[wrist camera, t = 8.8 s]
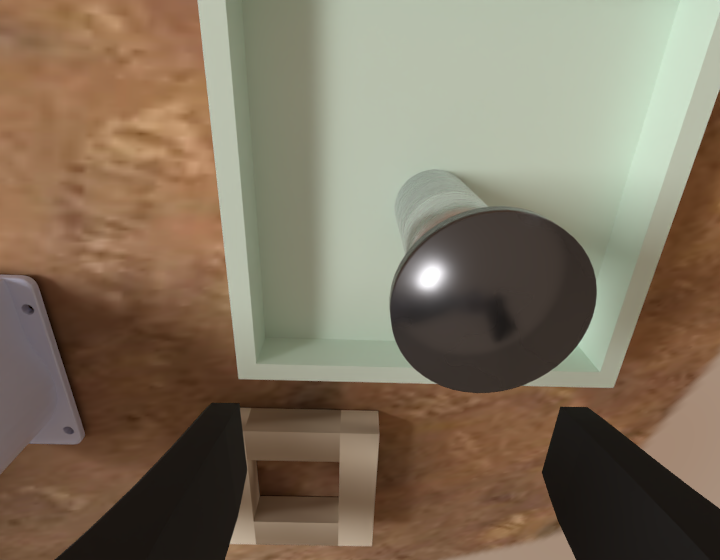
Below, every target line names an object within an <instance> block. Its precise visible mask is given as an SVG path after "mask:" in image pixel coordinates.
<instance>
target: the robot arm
mask: <svg viewBox="0 0 720 560" xmlns="http://www.w3.org/2000/svg"><path fill="white" fill-rule="evenodd" d="M28 305H30V306H31V307H32V308H33V309H34V310H32V309H31V308H29V306H28ZM84 437H85V432H84V429H83V426H82V423H81V419H80V416H79V413H78V410H77V407H76V404H75V400H74V397H73V394H72V391H71V388H70V385H69V382H68V378H67V375H66V372H65V369H64V366H63V363H62V359H61V356H60V353H59V350H58V347H57V344H56V341H55V337H54V334H53V331H52V328H51V325H50V322H49V318H48V315H47V312H46V309H45V306H44V303H43V300H42V296H41V293H40V290H39V287H38V285H37V283H36V281H35V280H33V279H32V278H31V277H29V276H25V275H0V474H1V473H2V472H3V471H4V470H5V469H6V468H7V467H8V466H9V465H10V463H11V462H12V461H13V460H14V459H15V458H16V457H17V456H18V455H19V454H20V452H21V451H22V450H23V449H24V448H25V447H26V446H27V445H28V444H78V443H80V442H81V441H82V440H83V438H84ZM542 474H543V478H544V481H545V484H546V487H547V490H548V493H549V496H550V499H551V502H552V505H553V508H554V511H555V513H556V516H557V519H558V521H559V524H560V526H561V528H562V530H563V532H564V534H565V537H566V539H567V541H568V543H569V545H570V547H571V549H572V552H573V554H574V556H575V558H576V560H720V509H719V508H718V507H717V506H715V505H714V504H713V503H711V502H710V501H709V500H707V499H706V498H704V497H703V496H702V495H700V494H699V493H698V492H696V491H695V490H694V489H692V488H691V487H690V486H688V485H687V484H686V483H684V482H683V481H682V480H681V479H679V478H678V477H677V476H675V475H674V474H673V473H671V472H670V471H669V470H668V469H666V468H665V467H664V466H662V465H661V464H660V463H659V462H657V461H656V460H655V459H653V458H652V457H651V456H650V455H648V454H647V453H646V452H645V451H643V450H642V449H641V448H640V447H638V446H637V445H636V444H634V443H633V442H632V441H631V440H629V439H628V438H627V437H626V436H624V435H623V434H622V433H621V432H619V431H618V430H617V429H615V428H614V427H613V426H612V425H610V424H609V423H608V422H606V421H605V420H604V419H603V418H601V417H600V416H599V415H597V414H596V413H595V412H593V411H592V410H590V409H589V408H588V407H560V410H559V414H558V417H557V421H556V424H555V428H554V431H553V435H552V438H551V442H550V446H549V449H548V453H547V456H546V460H545V463H544V467H543V470H542ZM246 475H247V463H246V454H245V446H244V438H243V430H242V421H241V413H240V405H239V403H211V404H210V405H209V406H208V407H207V408H206V409H205V410H204V411H203V412H202V413H201V415H200V416H199V417H198V418H197V419H196V420H195V421H194V422H193V424H192V425H191V426H190V427H189V428H188V429H187V430H186V431H185V432H184V434H183V435H182V436H181V437H180V438H179V439H178V440H177V441H176V442H175V443H174V445H173V446H172V447H171V448H170V449H169V450H168V451H167V452H166V453H165V454H164V455H163V456H162V457H161V458H160V460H159V461H158V462H157V463H156V464H155V465H154V466H153V467H152V468H151V469H150V470H149V471H148V472H147V473H146V474H145V475H144V476H143V477H142V478H141V479H140V480H139V481H138V482H137V483H136V484H135V485H134V486H133V487H132V488H131V489H130V490H129V491H128V492H127V493H126V494H125V495H124V496H123V497H122V498H121V499H120V500H119V501H118V502H117V503H116V504H115V505H114V506H113V507H112V508H111V509H110V510H109V511H108V512H107V513H106V514H105V515H104V516H102V517H101V518H100V519H99V520H98V521H97V522H96V523H95V524H94V525H93V526H92V527H91V528H90V529H89V530H88V531H87V532H85V533H84V534H83V535H82V536H81V537H80V538H79V539H78V540H77V541H75V542H74V543H73V544H72V545H71V546H70V547H69V548H68V549H66V550H65V551H64V552H63V553H62V554H61V555H60V556H58V557H57V558H56V559H55V560H225V557H226V554H227V551H228V547H229V544H230V541H231V538H232V535H233V531H234V528H235V525H236V522H237V518H238V514H239V509H240V505H241V500H242V495H243V490H244V485H245V480H246Z"/></svg>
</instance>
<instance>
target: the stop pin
mask: <svg viewBox="0 0 720 560" xmlns="http://www.w3.org/2000/svg"><path fill="white" fill-rule="evenodd" d="M395 217H396V221H397V225H398V228H399V232H400V236H401V240H402V244H403V248H404V251H405V256H404V257H403V259H402V261H401V262H400V264H399V266H398V268H397V270H396V273H395V275H394V278H393V282H392V285H391V290H390V297H389V310H390V318H391V325H392V331H393V335H394V338H395V341H396V343H397V345H398V348H399V350H400V352H401V353H402V354H403V356H404V357H405V359H406V360H407V361H408V363H409V364H410V365H411V366H412V367H413V368H414V369H415V370H416V371H418V372H419V373H420V374H421V375H423V376H424V377H426V378H427V379H429V380H431V381H432V382H434V383H437V384H439V385H441V386H444V387H447V388H450V389H453V390H458V391H463V392H472V393H490V392H498V391H504V390H508V389H513V388H516V387H519V386H522V385H525V384H527V383H529V382H532V381H534V380H536V379H538V378H540V377H541V376H543V375H545V374H547V373H548V372H550V371H551V370H552V369H554V368H555V367H557V366H558V365H559V364H560V363H561V362H563V361H564V360H565V359H566V358H567V357H568V356H569V355H570V354H571V353H572V351H573V350H574V349H575V348H576V347H577V345H578V344H579V343H580V341H581V340H582V338H583V337H584V335H585V333H586V331H587V329H588V327H589V325H590V322H591V320H592V317H593V314H594V310H595V306H596V297H597V286H596V278H595V273H594V269H593V266H592V264H591V261H590V259H589V257H588V255H587V254H586V252H585V250H584V249H583V247H582V246H581V245H580V244H579V243H578V242H577V240H576V239H575V238H574V237H573V236H571V235H570V234H569V233H568V232H567V231H565V230H564V229H563V228H561V227H560V226H558V225H557V224H556V223H554V222H553V221H551V220H549V219H548V218H546V217H544V216H542V215H540V214H537V213H535V212H533V211H529V210H526V209H522V208H517V207H508V206H489V207H488V206H487V205H486V204H485V203H484V202H483V201H482V200H481V199H480V198H479V197H478V196H477V195H476V194H475V193H474V192H473V191H472V190H471V189H470V188H469V187H468V186H467V185H466V184H465V183H464V182H462V181H461V180H460V179H459V178H458V177H457V176H456V175H454V174H452V173H450V172H448V171H444V170H438V169H432V170H426V171H422V172H420V173H417V174H416V175H414V176H412V177H411V178H410V179H408V180H407V181H406V182H405V183H404V185H403V186H402V187H401V189H400V190H399V192H398V195H397V197H396V201H395Z"/></svg>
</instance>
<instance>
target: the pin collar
mask: <svg viewBox="0 0 720 560" xmlns="http://www.w3.org/2000/svg"><path fill="white" fill-rule="evenodd" d="M240 413H241V421H242V430H243V438H244V446H245V454H246V463H247V475H246V480H245V485H244V490H243V495H242V500H241V505H240V509H239V514H238V518H237V522H236V525H235V528H234V531H233V535H232V538H231V541H230V544H265V545H325V546H372V536H373V521H374V507H375V492H376V478H377V464H378V449H379V435H380V433H379V417H378V411H363V410H319V409H274V408H240ZM256 460H266V461H315V462H340V465H339V497H296V496H260V493H259V482H258V472H257V461H256Z"/></svg>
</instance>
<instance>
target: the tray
mask: <svg viewBox="0 0 720 560" xmlns="http://www.w3.org/2000/svg"><path fill="white" fill-rule="evenodd" d="M198 9H199V18H200V27H201V37H202V46H203V55H204V64H205V74H206V83H207V92H208V102H209V111H210V120H211V129H212V139H213V148H214V157H215V166H216V176H217V185H218V194H219V203H220V213H221V222H222V231H223V240H224V250H225V259H226V268H227V278H228V287H229V296H230V305H231V315H232V324H233V333H234V342H235V352H236V361H237V370H238V379H255V380H297V381H340V382H382V383H424V384H437V383H434V382H432V381H431V380H429V379H427V378H426V377H424V376H423V375H421V374H420V373H419V372H418V371H416V370H415V369H414V368H413V367H412V366H411V365H410V364H409V363H408V361H407V360H406V359H405V357H404V356H403V354H402V353H401V352H400V350H399V348H398V345H397V343H396V341H395V338H394V335H393V331H392V325H391V318H390V310H389V297H390V290H391V285H392V282H393V278H394V275H395V273H396V270H397V268H398V266H399V264H400V262H401V261H402V259H403V257H404V256H405V251H404V248H403V244H402V240H401V236H400V232H399V228H398V225H397V221H396V217H395V201H396V197H397V195H398V192H399V190H400V189H401V187H402V186H403V185H404V183H405V182H406V181H407V180H408V179H410V178H411V177H412V176H414V175H416V174H417V173H420V172H422V171H426V170H432V169H438V170H444V171H448V172H450V173H452V174H454V175H456V176H457V177H458V178H459V179H460V180H461V181H462V182H464V183H465V184H466V185H467V186H468V187H469V188H470V189H471V190H472V191H473V192H474V193H475V194H476V195H477V196H478V197H479V198H480V199H481V200H482V201H483V202H484V203H485V204H486V205H487V206H488V207H489V206H508V207H517V208H522V209H526V210H529V211H533V212H535V213H537V214H540V215H542V216H544V217H546V218H548V219H549V220H551V221H553V222H554V223H556V224H557V225H558V226H560V227H561V228H563V229H564V230H565V231H567V232H568V233H569V234H570V235H571V236H573V237H574V238H575V239H576V240H577V242H578V243H579V244H580V245H581V246H582V247H583V249H584V250H585V252H586V254H587V255H588V257H589V259H590V261H591V264H592V266H593V269H594V273H595V278H596V286H597V297H596V306H595V310H594V314H593V317H592V320H591V322H590V325H589V327H588V329H587V331H586V333H585V335H584V337H583V338H582V340H581V341H580V343H579V344H578V345H577V347H576V348H575V349H574V350H573V351H572V353H571V354H570V355H569V356H568V357H567V358H566V359H565V360H564V361H563V362H561V363H560V364H559V365H558V366H557V367H555V368H554V369H552V370H551V371H550V372H548V373H547V374H545V375H543V376H541V377H540V378H538V379H536V380H534V381H532V382H529V383H527V384H525V385H522V386H551V387H593V388H614V385H615V382H616V380H617V377H618V374H619V371H620V368H621V365H622V363H623V360H624V357H625V354H626V351H627V349H628V346H629V343H630V340H631V337H632V335H633V332H634V329H635V326H636V323H637V320H638V318H639V315H640V312H641V309H642V306H643V304H644V301H645V298H646V295H647V292H648V289H649V287H650V284H651V281H652V278H653V275H654V273H655V270H656V267H657V264H658V261H659V259H660V256H661V253H662V250H663V247H664V244H665V242H666V239H667V236H668V233H669V230H670V228H671V225H672V222H673V219H674V216H675V214H676V211H677V208H678V205H679V202H680V199H681V197H682V194H683V191H684V188H685V185H686V183H687V180H688V177H689V174H690V171H691V168H692V166H693V163H694V160H695V157H696V154H697V152H698V149H699V146H700V143H701V140H702V138H703V135H704V132H705V129H706V126H707V123H708V121H709V118H710V115H711V112H712V109H713V107H714V104H715V101H716V98H717V95H718V93H719V90H720V0H198Z"/></svg>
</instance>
